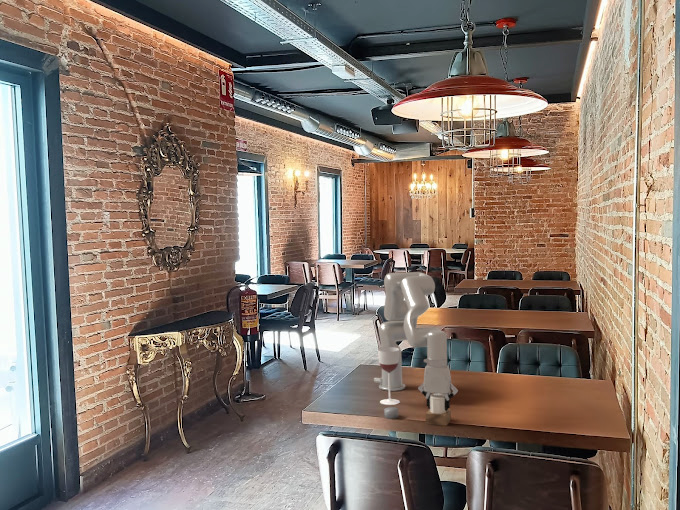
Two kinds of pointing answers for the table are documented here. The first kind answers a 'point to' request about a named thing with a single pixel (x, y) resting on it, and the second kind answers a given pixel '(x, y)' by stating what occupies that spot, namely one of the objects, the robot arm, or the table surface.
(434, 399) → the cream cap
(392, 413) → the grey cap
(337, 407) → the table surface
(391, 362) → the wineglass
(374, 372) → the table surface
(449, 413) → the post base
